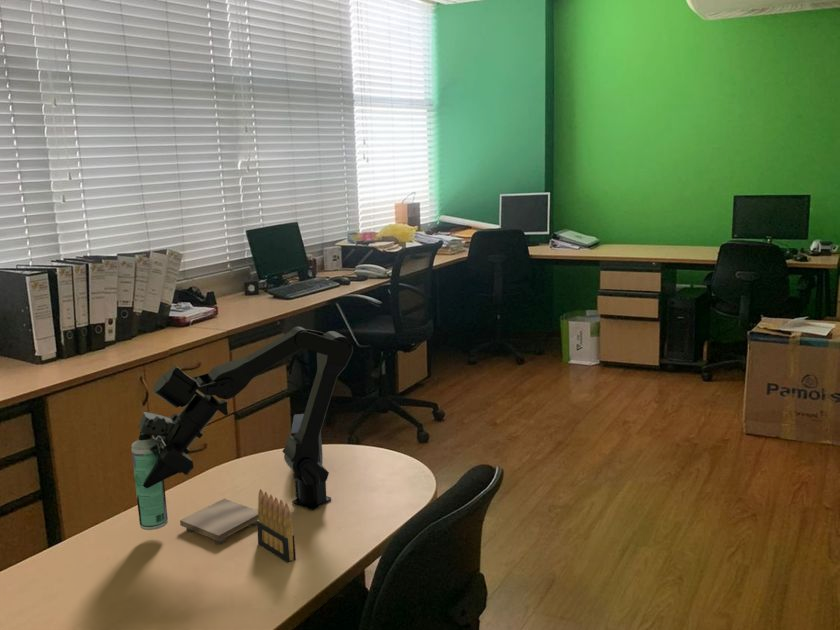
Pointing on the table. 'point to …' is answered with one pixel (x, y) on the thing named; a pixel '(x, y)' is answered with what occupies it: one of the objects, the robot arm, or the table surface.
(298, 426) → the small box
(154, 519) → the spray can
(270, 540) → the ammunition clip
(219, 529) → the flat square brown plate
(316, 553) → the table surface
